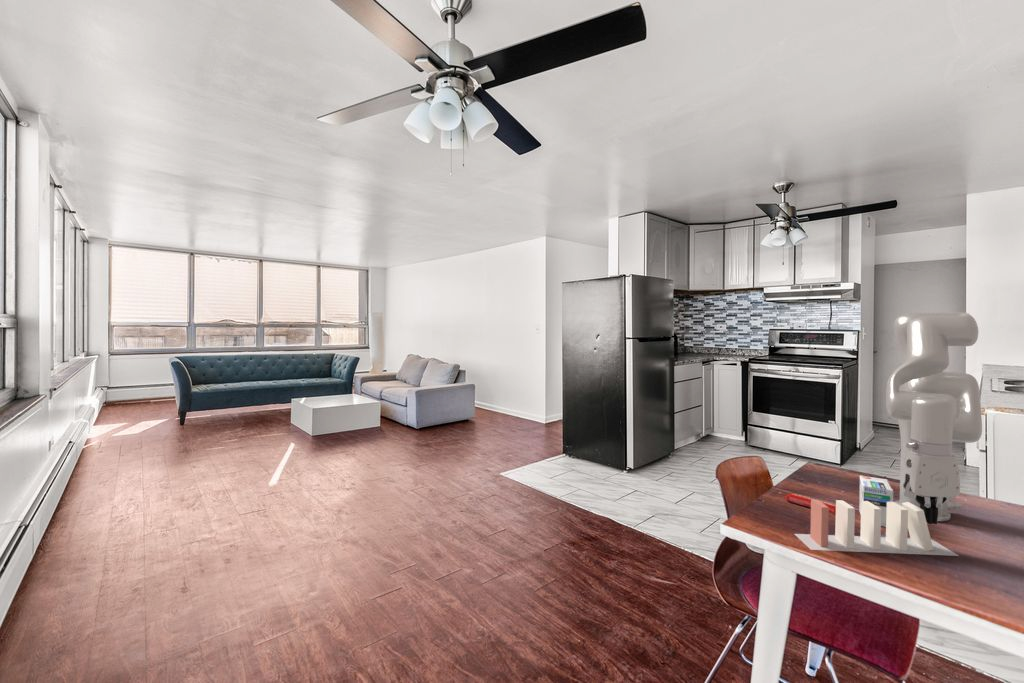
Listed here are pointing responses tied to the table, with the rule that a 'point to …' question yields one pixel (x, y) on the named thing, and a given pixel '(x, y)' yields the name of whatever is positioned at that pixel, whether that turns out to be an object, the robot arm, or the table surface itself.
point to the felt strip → (884, 548)
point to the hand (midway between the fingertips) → (928, 521)
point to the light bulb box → (876, 494)
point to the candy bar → (808, 502)
